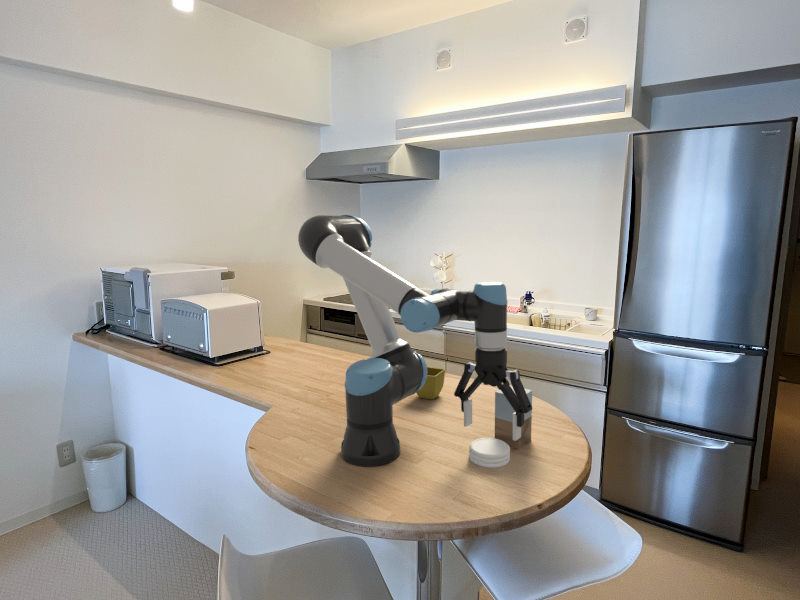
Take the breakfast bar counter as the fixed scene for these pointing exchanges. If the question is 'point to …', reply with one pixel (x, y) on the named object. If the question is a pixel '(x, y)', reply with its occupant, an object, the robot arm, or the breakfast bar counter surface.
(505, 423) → the block bottom
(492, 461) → the white round disc
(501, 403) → the block top
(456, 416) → the breakfast bar counter surface
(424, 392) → the flower pot
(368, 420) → the robot arm
